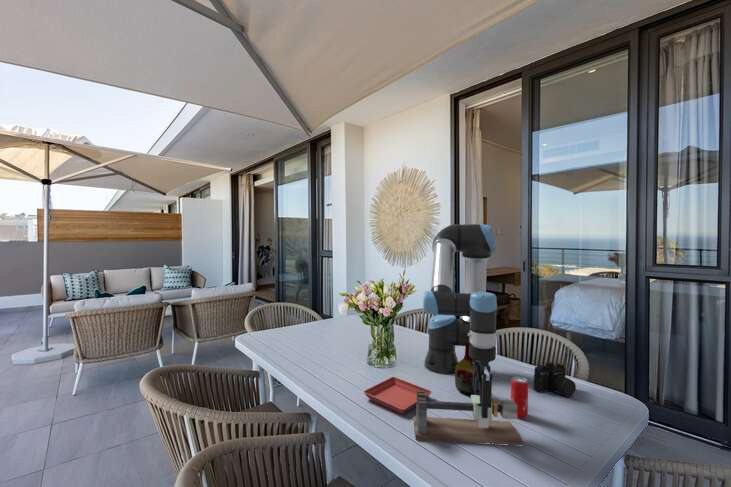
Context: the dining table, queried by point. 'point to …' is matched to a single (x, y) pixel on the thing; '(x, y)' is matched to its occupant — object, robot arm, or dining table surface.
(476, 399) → the sleeve
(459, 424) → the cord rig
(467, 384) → the bottle
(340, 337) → the dining table surface
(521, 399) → the beverage can
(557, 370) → the camera
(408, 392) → the plant saucer
